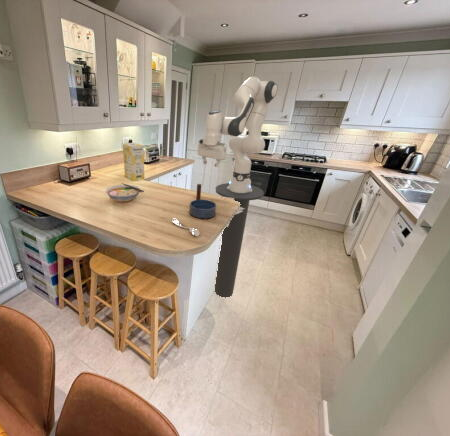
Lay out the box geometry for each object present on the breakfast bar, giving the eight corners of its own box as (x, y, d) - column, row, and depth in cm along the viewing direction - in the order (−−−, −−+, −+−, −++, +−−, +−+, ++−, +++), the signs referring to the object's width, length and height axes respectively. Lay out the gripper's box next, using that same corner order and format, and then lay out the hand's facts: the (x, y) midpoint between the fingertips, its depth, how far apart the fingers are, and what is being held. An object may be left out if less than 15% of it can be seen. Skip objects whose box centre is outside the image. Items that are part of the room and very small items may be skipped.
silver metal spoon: (169, 216, 126) (176, 213, 128) (169, 221, 127) (175, 219, 130) (194, 232, 112) (201, 230, 114) (194, 239, 114) (201, 236, 116)
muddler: (195, 203, 152) (196, 182, 146) (202, 204, 150) (203, 183, 144) (193, 206, 148) (194, 184, 142) (200, 207, 147) (201, 185, 140)
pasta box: (144, 179, 201) (143, 145, 189) (133, 180, 196) (131, 146, 184) (135, 174, 215) (133, 142, 203) (124, 175, 210) (122, 143, 198)
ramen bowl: (100, 198, 159) (98, 187, 155) (128, 191, 172) (127, 180, 169) (118, 210, 142) (117, 197, 138) (148, 201, 155) (148, 189, 151)
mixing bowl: (193, 206, 147) (194, 198, 144) (217, 211, 141) (218, 201, 139) (185, 216, 135) (186, 206, 132) (211, 221, 129) (212, 211, 126)
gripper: (230, 143, 129) (227, 167, 135) (203, 139, 144) (202, 161, 150) (222, 144, 126) (220, 169, 132) (196, 140, 140) (195, 162, 147)
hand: (210, 165), depth 141 cm, fingers open, 8 cm apart
